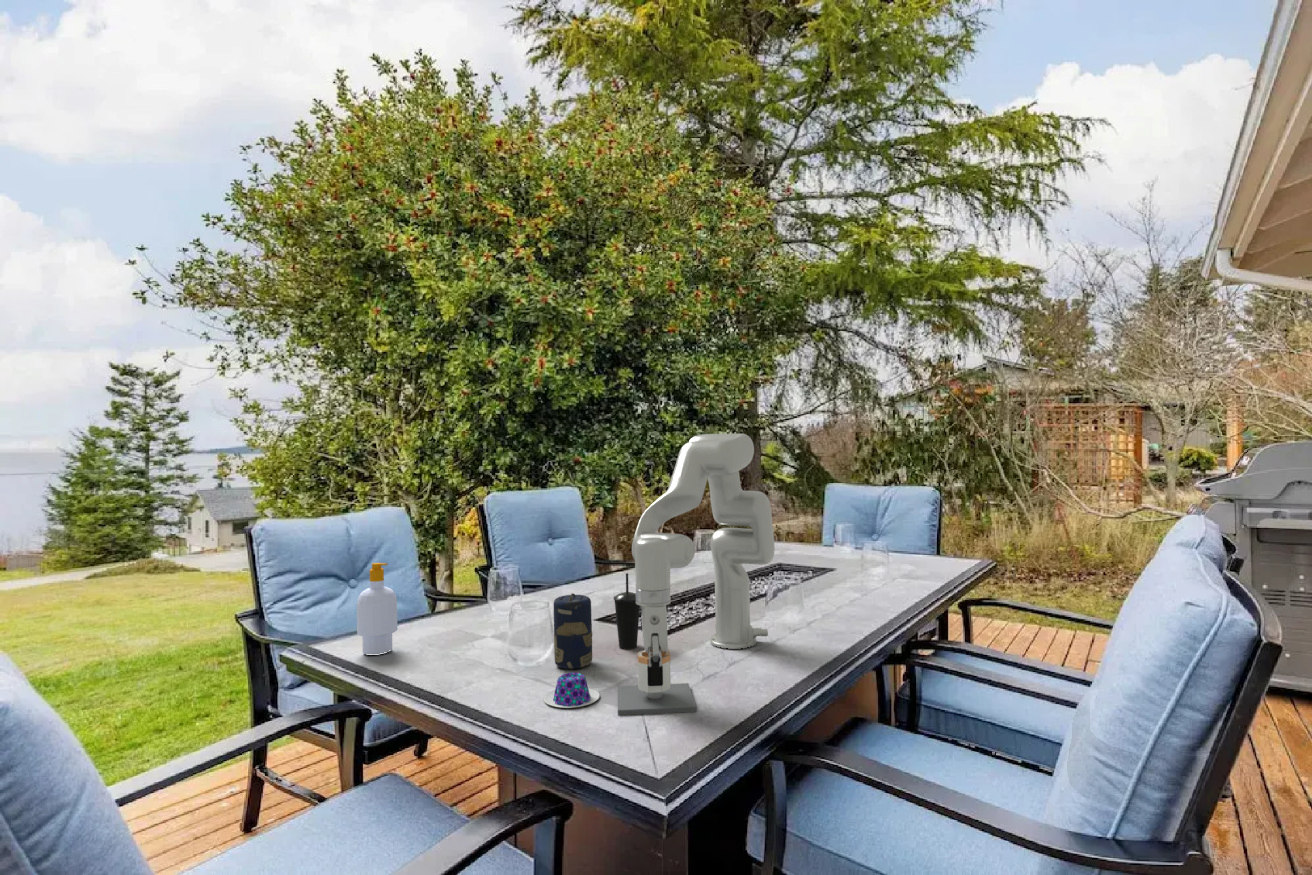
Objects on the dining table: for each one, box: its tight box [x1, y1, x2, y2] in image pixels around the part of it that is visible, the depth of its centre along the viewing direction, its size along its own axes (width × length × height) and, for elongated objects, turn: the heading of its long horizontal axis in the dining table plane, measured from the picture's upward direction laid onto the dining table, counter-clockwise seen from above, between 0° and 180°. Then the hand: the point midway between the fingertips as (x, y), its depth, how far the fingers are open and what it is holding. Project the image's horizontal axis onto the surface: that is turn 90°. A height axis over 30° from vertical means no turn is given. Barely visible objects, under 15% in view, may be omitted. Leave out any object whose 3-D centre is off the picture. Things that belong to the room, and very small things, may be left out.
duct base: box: [617, 682, 697, 716], centre depth 146 cm, size 16×14×6 cm
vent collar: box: [637, 649, 671, 693], centre depth 146 cm, size 7×7×7 cm
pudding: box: [543, 672, 600, 709], centre depth 148 cm, size 12×12×5 cm
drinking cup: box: [612, 573, 641, 650], centre depth 186 cm, size 8×8×20 cm
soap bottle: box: [356, 562, 398, 655], centre depth 185 cm, size 10×10×24 cm
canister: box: [553, 593, 593, 670], centre depth 171 cm, size 10×10×18 cm
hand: (654, 678), depth 146 cm, fingers closed on vent collar, 6 cm apart
